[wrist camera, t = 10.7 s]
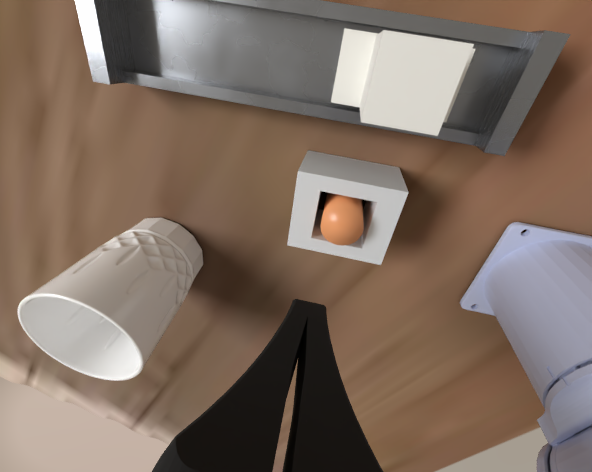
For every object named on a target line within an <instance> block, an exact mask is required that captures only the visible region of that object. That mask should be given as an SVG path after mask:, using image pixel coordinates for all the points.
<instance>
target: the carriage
mask: <svg viewBox="0 0 592 472" xmlns="http://www.w3.org/2000/svg"><path fill="white" fill-rule="evenodd" d="M473 46H474V44H471V43H464V42H458V41H451V40H445V39H439V38H432V37H426V36H419V35H413V34H407V33H400V32H394V31H387V30H383V31H382V32H380V33H379V34H378V33H371V32H365V31H359V30H352V29H346V28H344V34H343V39H342V44H341V50H340V55H339V60H338V66H337V71H336V77H335V82H334V87H333V93H332V98H331V102H332V103H337V104H343V105H349V106H354V107H360V118H361V122H362V123H368V124H373V125H379V126H385V127H390V128H396V129H401V130H407V131H413V132H418V133H424V134H429V135H435V136H438V134H439V131H440V129H441V126H442V124H443V122H447V119H448V117H449V114H450V112H451V109H452V107H453V104H454V102H455V99H456V97H457V94H458V92H459V89H460V87H461V84H462V82H463V79H464V77H465V74H466V72H467V69H468V67H469V64H470V62H471V59H472V57H473V54H474V52H475V49H473Z"/></svg>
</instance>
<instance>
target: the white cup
mask: <svg viewBox="0 0 592 472" xmlns="http://www.w3.org/2000/svg"><path fill="white" fill-rule="evenodd" d="M202 266H203V254H202V249H201V247H200V246H199V244H198V242H197V241H196V239H195V237H194V236H193V235H192V234H191V233H189V232H188V231H187V230H186V229H185V228H183V227H182V226H181V225H180V224H177V223H175V222H172V221H170V220H167V219H164V218H145V219H144V220H142V221H141V222H139V223H138V224H136V225H134V226H133V227H132V228H130V229H129V230H127V231H126V232H124V233H122V234H121V235H117V236H115V237H114V238H113V239H111V240H110V241H108V242H107V243H105V244H103V245H101V246H100V247H99V248H97V249H96V250H94V251H93V252H91V253H90V254H88V255H87V256H86V257H84V258H83V259H81V260H80V261H78V262H77V263H75V264H74V265H72V266H71V267H69V268H68V269H67V270H65V271H64V272H62V273H61V274H59V275H58V276H56V277H55V278H53V279H52V280H51V281H49V282H48V283H46V284H45V285H43V286H42V287H40V288H39V289H37V290H36V291H34V292H33V293H31V294H30V295H29V296H27V297H26V298H24V299H23V300H22V301H21V302H20V304H19V306H18V318H19V321H20V323H21V325H22V327H23V329H24V331H25V332H26V333H27V335H28V336H29V337H30V338H31V339H32V341H33V342H34V343H35V344H36V345H38V346H39V347H40V348H41V349H42V350H43V351H44V352H46V353H47V354H48V355H50V356H51V357H53V358H54V359H56V360H57V361H59V362H60V363H62V364H64V365H66V366H68V367H70V368H72V369H74V370H76V371H78V372H81V373H83V374H86V375H89V376H92V377H96V378H100V379H105V380H113V381H121V380H128V379H131V378H134V377H135V376H137V375H138V374H139V373H140V372H141V371H142V369H143V367H144V366H145V364H146V362H147V361H148V359H149V357H150V356H151V354H152V352H153V351H154V349H155V347H156V346H157V344H158V343H159V341H160V339H161V338H162V336H163V334H164V333H165V331H166V329H167V328H168V326H169V324H170V323H171V321H172V319H173V318H174V316H175V315H176V313H177V311H178V310H179V308H180V306H181V305H182V303H183V301H184V299H185V297H186V295H187V294H188V292H189V290H190V286H191V285H192V283H193V281H194V279H195V278H196V276H197V275H198V273H199V271H200V269H201V268H202Z"/></svg>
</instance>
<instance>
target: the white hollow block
mask: <svg viewBox="0 0 592 472" xmlns="http://www.w3.org/2000/svg"><path fill="white" fill-rule="evenodd" d="M321 191H323V192H328V193H333V194H338V195H343V196H348V197H353V198H358V199H363V200H366V203H365V207H364V210H363V223H364V230H363V233H362V235H361V237H360V238H359V239H358V240H357V241H356V242H354V243H352V244H349V245H343V246H342V245H336V244H333V243H331V242H329V241H328V240H326V239H325V237H324V236H323V234H322V232H321V220H322V215H323V210H321V209H318V206H319V201H320V196H321ZM408 193H409V192H408V189H407V187H406V184H405V182H404V179H403V176H402V174H401V171H400V168H399V167H394V166H389V165H384V164H378V163H373V162H368V161H362V160H357V159H352V158H346V157H341V156H336V155H330V154H325V153H320V152H315V151H309V150H308V151H307V153H306V155H305V158H304V160H303V162H302V164H301V166H300V168H299V170H298V175H297V182H296V189H295V196H294V202H293V209H292V216H291V223H290V230H289V237H288V244H287V245H289V246H294V247H299V248H303V249H308V250H313V251H318V252H322V253H327V254H332V255H336V256H341V257H346V258H350V259H355V260H360V261H365V262H369V263H374V264H379V265H381V263H382V261H383V258H384V255H385V253H386V250H387V248H388V245H389V242H390V240H391V237H392V234H393V232H394V229H395V227H396V224H397V221H398V219H399V216H400V214H401V211H402V208H403V206H404V203H405V201H406V198H407V195H408Z"/></svg>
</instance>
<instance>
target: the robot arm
mask: <svg viewBox="0 0 592 472" xmlns="http://www.w3.org/2000/svg"><path fill="white" fill-rule="evenodd" d="M525 229H527V231H526V232H524V233H521V232H522V231H523V230H525ZM460 304H461V307H462V308H463V309H466V310H471V311H475V312H480V313H485V314H489V315H494V316H496V318H497V320H498V322H499V324H500V325H501V327H502V329H503V331H504V333H505V335H506V337H507V339H508V341H509V342H510V344H511V346H512V348H513V350H514V352H515V354H516V356H517V357H518V359H519V361H520V363H521V365H522V367H523V369H524V371H525V372H526V374H527V376H528V378H529V380H530V382H531V384H532V386H533V387H534V389H535V391H536V393H537V395H538V397H539V399H540V401H541V403H542V404H543V406H544V408H545V413H544V414H543V415H542V416H541V417H540V418H539V419H538V420H537V421H538V423H539V425H540V427H541V429H542V431H543V433H544V435H545V437H546V439H547V441H548V443H547V444H546V445H545V446H543V447H542V449H541V450H540V452H539V454H538V458H537V472H592V236H587V235H582V234H577V233H572V232H567V231H562V230H556V229H551V228H546V227H541V226H536V225H531V224H526V223H521V222H515V223H512V224H510V225H509V226H508V227H507V228H506V230H505V232H504V233H503V235H502V236H501V238H500V240H499V241H498V243H497V244H496V246H495V247H494V249H493V251H492V252H491V254H490V255H489V257H488V258H487V260H486V262H485V263H484V265H483V266H482V268H481V269H480V271H479V273H478V274H477V276H476V277H475V279H474V280H473V282H472V284H471V285H470V287H469V288H468V290H467V291H466V293H465V295H464V296H463V298H462V299H461V301H460ZM474 304H476V305H474ZM472 305H474V306H472ZM297 360H298V366H297V376H296V386H295V396H294V407H293V415H292V422H291V428H290V433H289V439H288V444H287V450H286V455H285V461H284V466H283V472H383V471H382V469H381V467H380V465H379V463H378V461H377V459H376V457H375V456H374V454H373V452H372V450H371V448H370V446H369V444H368V442H367V440H366V437H365V435H364V433H363V431H362V429H361V427H360V425H359V422H358V420H357V418H356V416H355V414H354V411H353V409H352V406H351V404H350V401H349V399H348V396H347V393H346V391H345V388H344V385H343V382H342V380H341V377H340V373H339V370H338V367H337V364H336V360H335V356H334V353H333V348H332V344H331V340H330V335H329V330H328V324H327V315H326V307H325V306H324V305H321V304H316V303H312V302H307V301H303V300H298V299H295V300H293V302H292V305H291V307H290V309H289V311H288V313H287V315H286V317H285V319H284V321H283V322H282V324H281V326H280V327H279V329H278V330H277V332H276V333H275V335H274V336H273V338H272V339H271V341H270V342H269V343H268V345H267V346H266V347H265V349H264V350H263V351H262V353H261V354H260V355H259V356H258V358H257V359H256V360H255V361H254V363H253V364H252V365H251V366H250V367H249V368H248V370H247V371H246V372H245V373H244V374H243V375H242V376H241V377H240V378H239V379H238V380H237V381H236V383H235V384H234V385H233V386H232V387H231V388H230V389H229V390H228V391H227V392H226V393H225V394H224V395H223V396H222V397H220V398H219V399H218V400H217V401H216V402H215V403H214V404H213V405H212V406H211V407H210V408H209V409H208V410H206V411H205V412H204V413H203V414H202V415H201V416H200V417H198V418H197V419H196V420H195V421H194V422H192V423H191V424H190V425H189V426H187V427H186V428H185V429H184V430H183V431H181V432H180V433H179V434H178V435H177V436H176V437H175V438H174V439H173V441H172V442H171V443H170V445H169V446H168V447H167V449H166V450H165V451H164V453H163V454H162V456H161V457H160V459H159V460H158V462H157V464H156V465H155V467H154V469H153V471H152V472H272V470H273V465H274V459H275V454H276V449H277V444H278V438H279V433H280V428H281V423H282V418H283V413H284V407H285V402H286V398H287V394H288V391H289V387H290V384H291V380H292V377H293V373H294V370H295V366H296V363H297Z"/></svg>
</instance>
